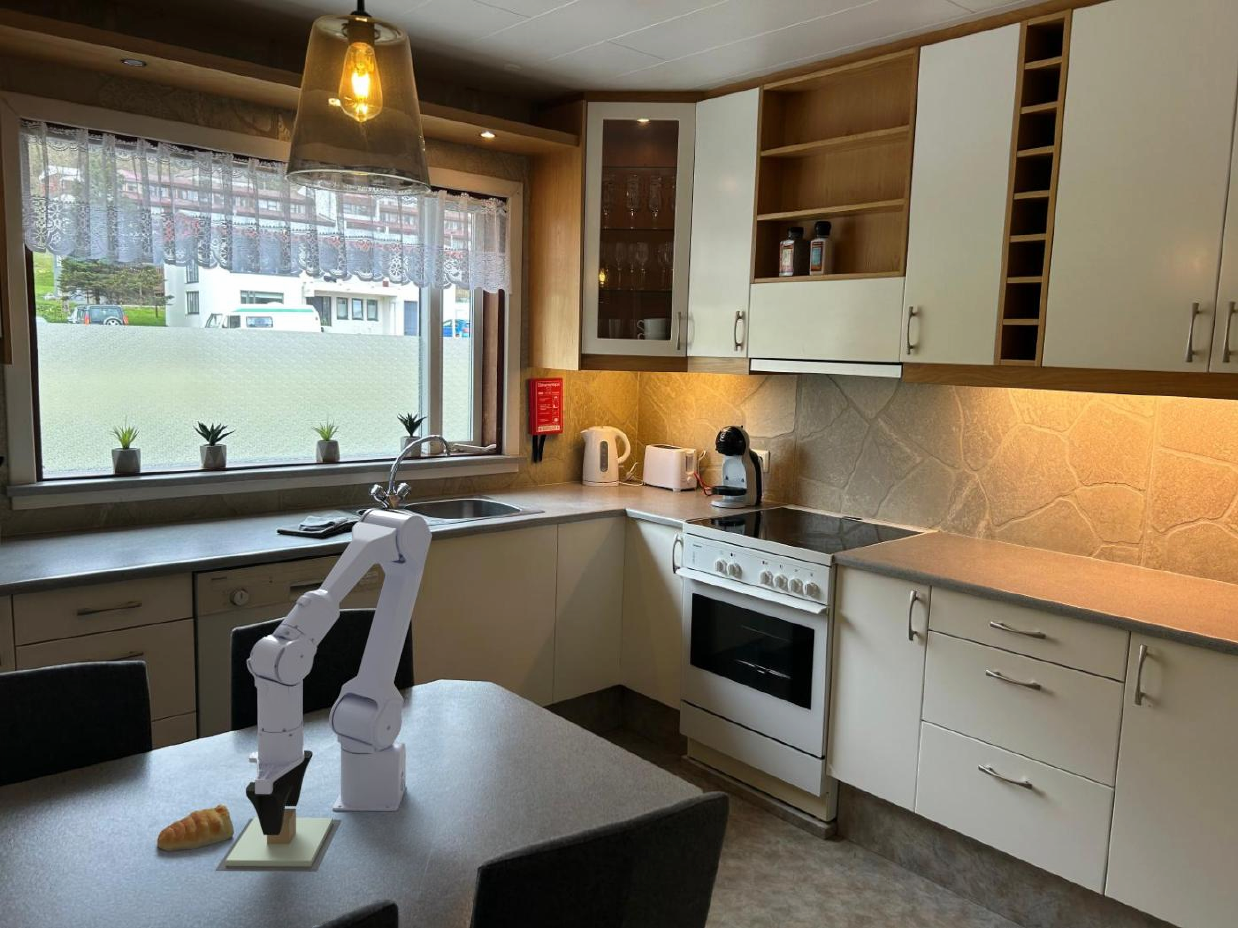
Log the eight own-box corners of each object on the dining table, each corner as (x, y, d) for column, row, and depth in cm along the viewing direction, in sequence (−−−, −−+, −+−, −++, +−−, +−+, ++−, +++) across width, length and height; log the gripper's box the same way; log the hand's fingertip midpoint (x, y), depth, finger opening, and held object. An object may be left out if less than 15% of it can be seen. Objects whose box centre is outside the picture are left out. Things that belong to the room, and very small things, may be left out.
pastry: (164, 862, 121) (163, 835, 120) (151, 840, 126) (150, 814, 125) (237, 839, 127) (237, 813, 126) (222, 820, 132) (222, 795, 131)
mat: (341, 820, 132) (341, 819, 132) (316, 871, 119) (316, 870, 119) (250, 819, 132) (250, 818, 132) (215, 871, 119) (215, 869, 119)
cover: (332, 822, 131) (332, 794, 131) (311, 866, 120) (310, 835, 120) (254, 822, 131) (254, 793, 130) (225, 865, 120) (225, 834, 119)
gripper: (267, 702, 130) (268, 792, 132) (230, 746, 116) (231, 847, 118) (318, 703, 131) (318, 793, 132) (286, 747, 116) (287, 847, 118)
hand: (280, 818), depth 125 cm, fingers open, 7 cm apart
